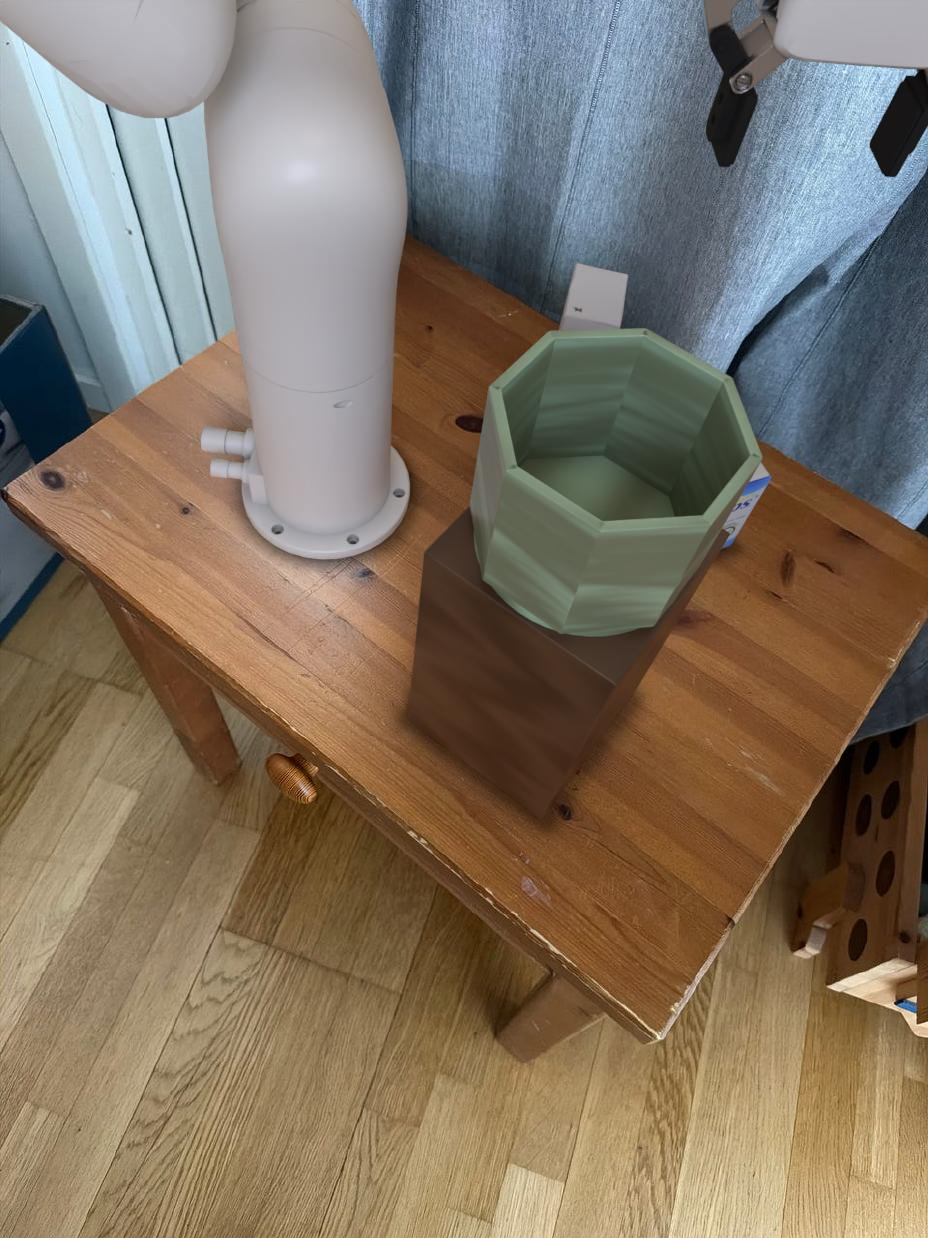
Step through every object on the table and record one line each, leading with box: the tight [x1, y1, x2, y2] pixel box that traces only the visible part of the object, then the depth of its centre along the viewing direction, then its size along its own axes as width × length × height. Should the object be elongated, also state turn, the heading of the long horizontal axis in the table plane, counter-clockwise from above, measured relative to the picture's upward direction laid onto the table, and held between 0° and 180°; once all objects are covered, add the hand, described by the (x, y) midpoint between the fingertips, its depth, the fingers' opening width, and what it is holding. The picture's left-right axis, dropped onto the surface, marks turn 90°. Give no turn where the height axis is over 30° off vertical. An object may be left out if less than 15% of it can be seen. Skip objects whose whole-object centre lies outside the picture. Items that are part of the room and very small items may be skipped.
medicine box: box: [722, 462, 772, 549], centre depth 66 cm, size 8×4×9 cm, turn 114°
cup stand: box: [407, 327, 763, 820], centre depth 49 cm, size 11×11×29 cm
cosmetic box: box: [558, 262, 629, 330], centre depth 70 cm, size 6×4×12 cm
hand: (801, 157), depth 51 cm, fingers open, 9 cm apart
